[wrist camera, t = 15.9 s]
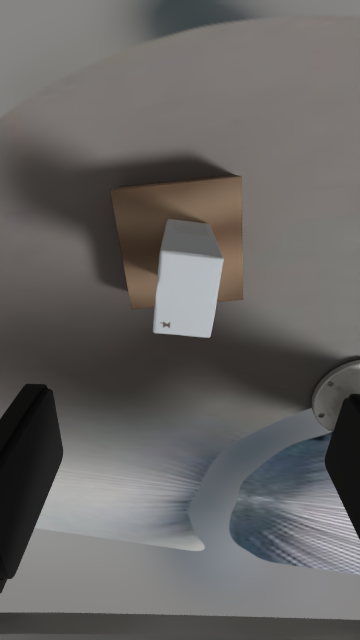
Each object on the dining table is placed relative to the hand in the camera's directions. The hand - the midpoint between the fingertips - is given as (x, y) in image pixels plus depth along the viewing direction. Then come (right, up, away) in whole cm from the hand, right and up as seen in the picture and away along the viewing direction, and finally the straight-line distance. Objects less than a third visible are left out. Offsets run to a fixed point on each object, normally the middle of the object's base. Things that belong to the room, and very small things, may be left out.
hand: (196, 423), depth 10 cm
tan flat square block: (0, +13, +26) cm, 29 cm away
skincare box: (0, +10, +21) cm, 24 cm away
